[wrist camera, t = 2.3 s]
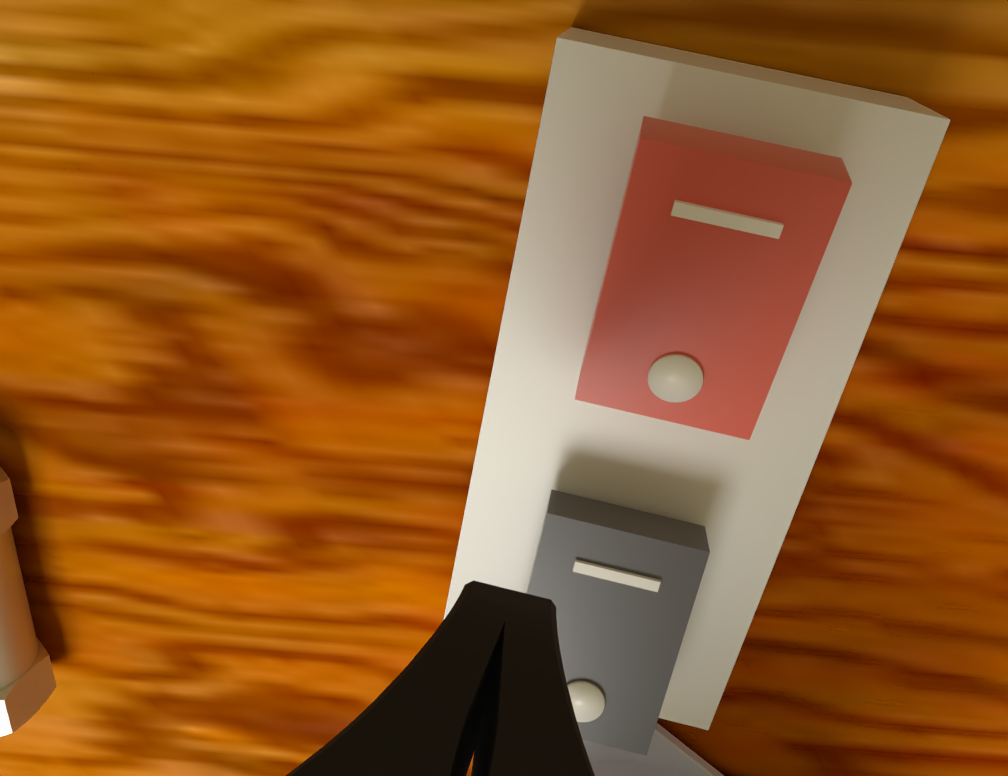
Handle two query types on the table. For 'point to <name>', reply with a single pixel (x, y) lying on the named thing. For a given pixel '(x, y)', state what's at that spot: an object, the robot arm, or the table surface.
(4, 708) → the pipe fitting
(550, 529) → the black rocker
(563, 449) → the rocker switch panel
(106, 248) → the table surface
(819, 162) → the red rocker
